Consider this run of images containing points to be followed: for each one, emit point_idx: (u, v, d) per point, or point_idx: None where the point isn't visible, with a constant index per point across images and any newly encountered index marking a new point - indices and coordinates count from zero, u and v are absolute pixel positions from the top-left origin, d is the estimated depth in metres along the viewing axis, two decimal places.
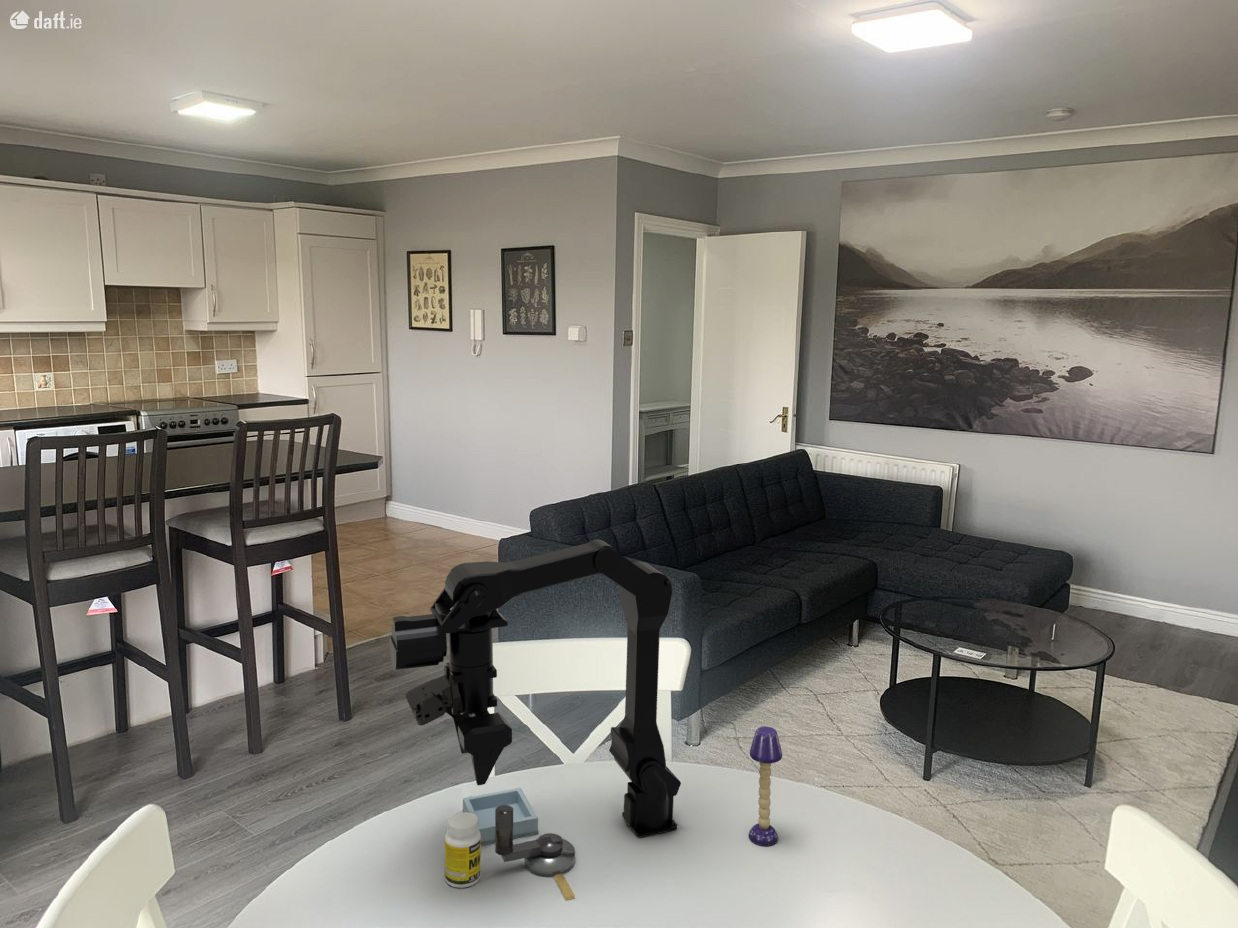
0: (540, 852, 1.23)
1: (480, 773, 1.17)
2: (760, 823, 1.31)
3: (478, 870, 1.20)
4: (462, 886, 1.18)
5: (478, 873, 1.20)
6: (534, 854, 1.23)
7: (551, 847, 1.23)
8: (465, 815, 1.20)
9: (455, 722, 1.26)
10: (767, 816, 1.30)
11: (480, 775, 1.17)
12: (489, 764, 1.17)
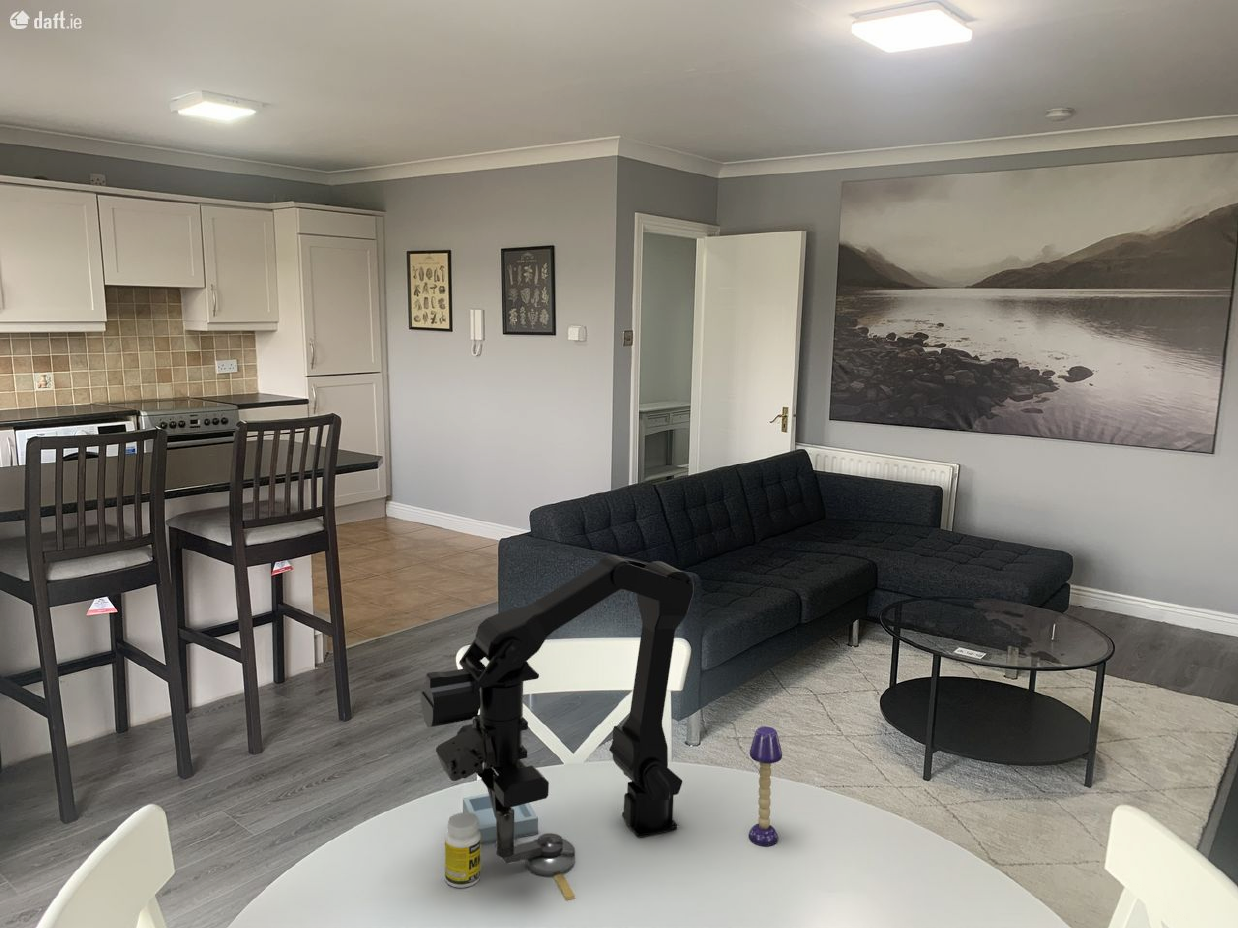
0: (541, 852, 1.23)
1: None
2: (760, 823, 1.31)
3: (478, 870, 1.20)
4: (462, 886, 1.18)
5: (478, 873, 1.20)
6: (535, 855, 1.22)
7: (552, 847, 1.23)
8: (465, 815, 1.20)
9: None
10: (767, 816, 1.30)
11: None
12: None
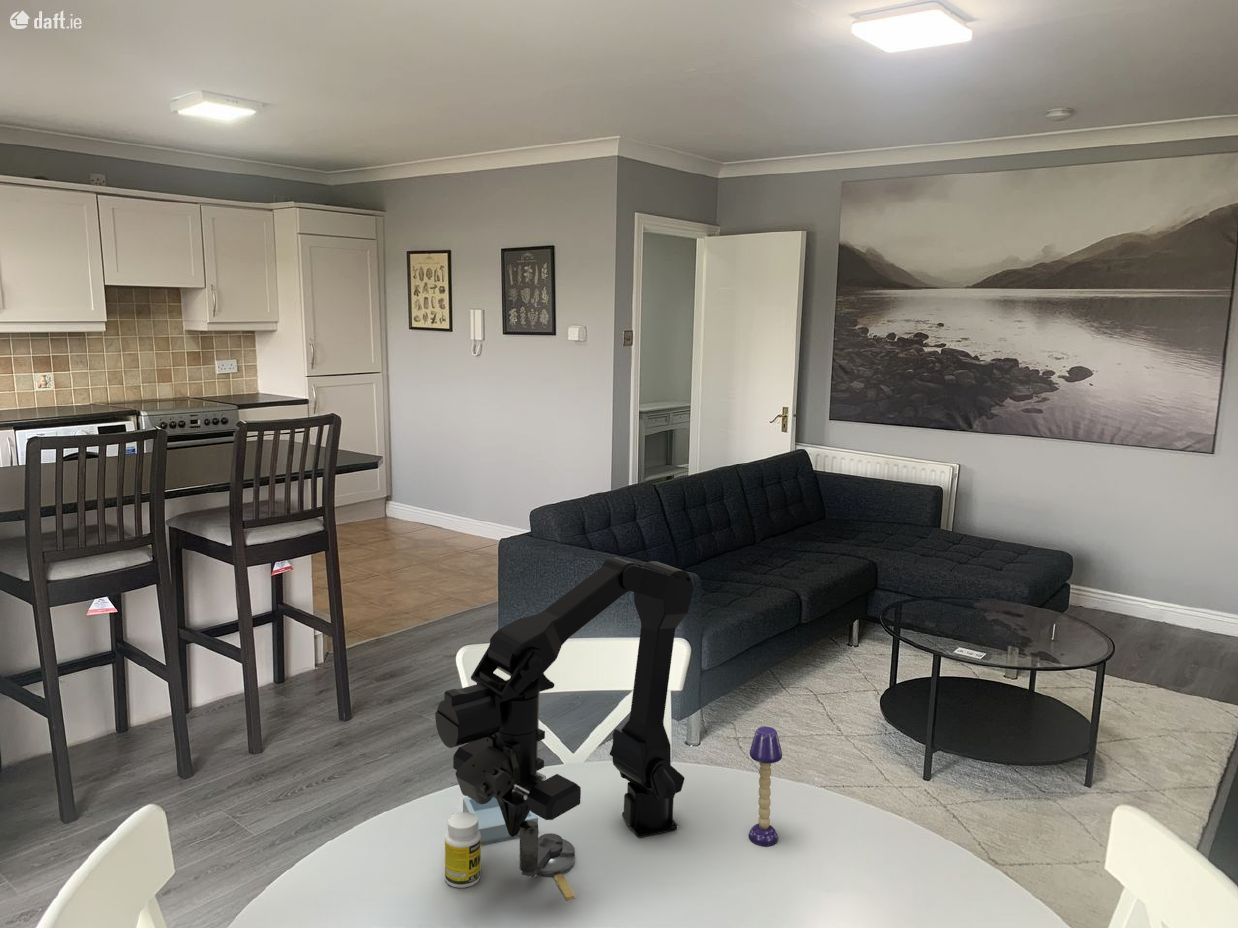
0: (550, 854, 1.23)
1: (517, 824, 1.18)
2: (760, 823, 1.31)
3: (478, 870, 1.20)
4: (462, 886, 1.18)
5: (478, 873, 1.20)
6: (547, 858, 1.22)
7: (559, 844, 1.23)
8: (465, 815, 1.20)
9: (505, 805, 1.18)
10: (767, 816, 1.30)
11: (516, 826, 1.18)
12: (525, 813, 1.18)
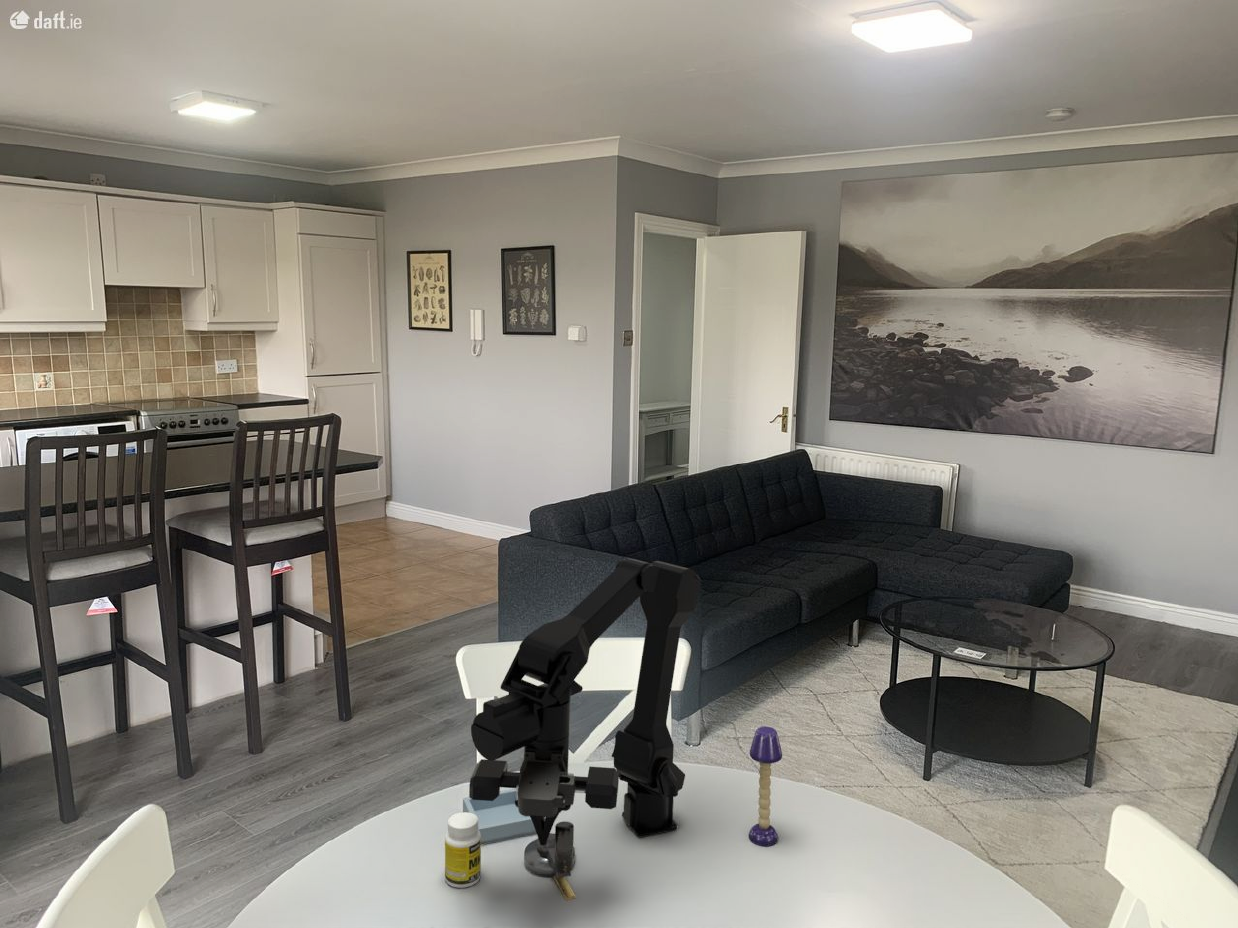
0: None
1: None
2: (760, 823, 1.31)
3: (478, 870, 1.20)
4: (462, 886, 1.18)
5: (478, 873, 1.20)
6: None
7: None
8: (465, 815, 1.20)
9: (540, 815, 1.15)
10: (767, 816, 1.30)
11: None
12: None
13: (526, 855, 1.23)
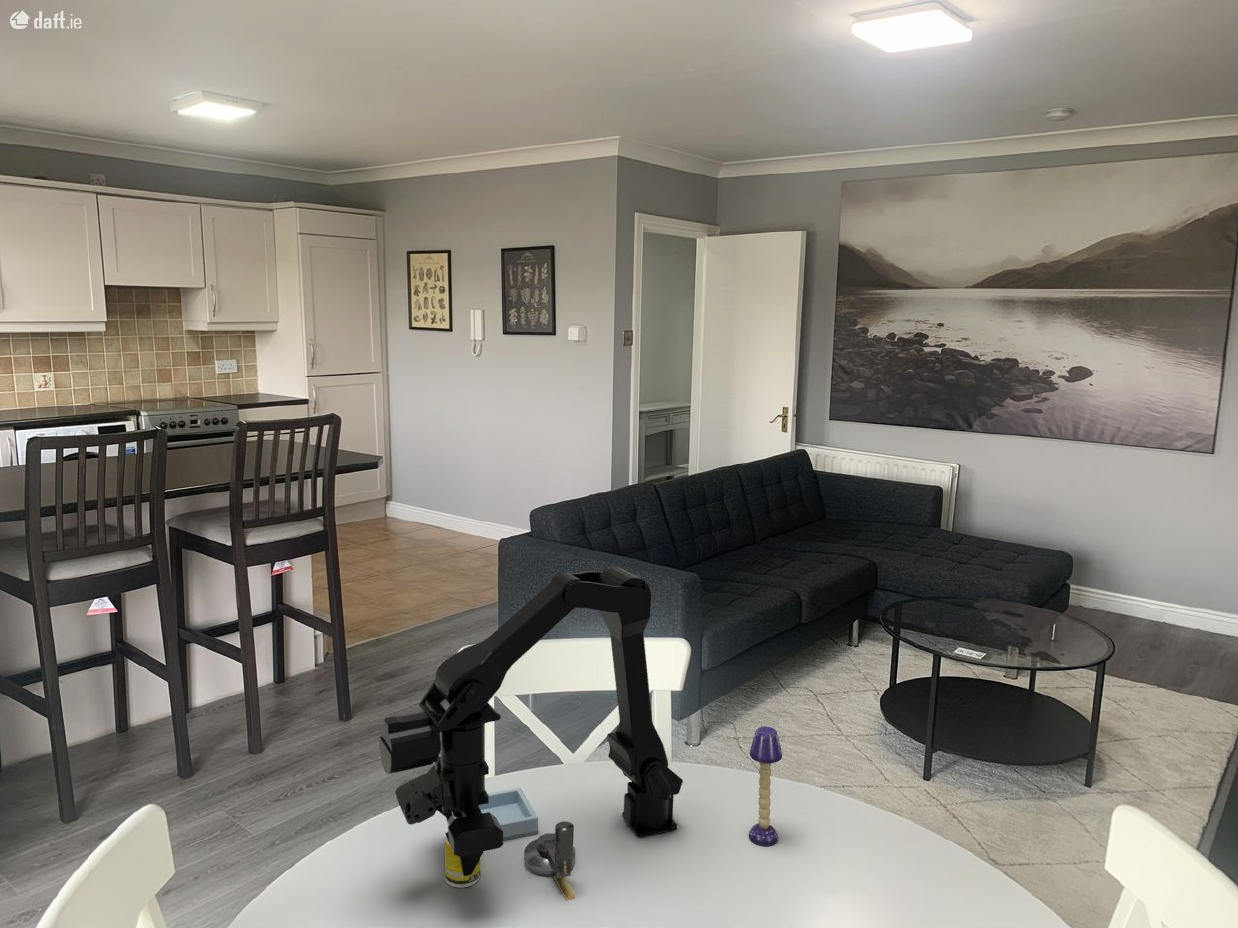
0: None
1: (466, 864, 1.17)
2: (760, 823, 1.31)
3: (478, 870, 1.20)
4: (462, 886, 1.18)
5: (478, 872, 1.20)
6: None
7: None
8: None
9: None
10: (767, 816, 1.30)
11: (466, 866, 1.17)
12: (476, 855, 1.17)
13: (526, 855, 1.23)
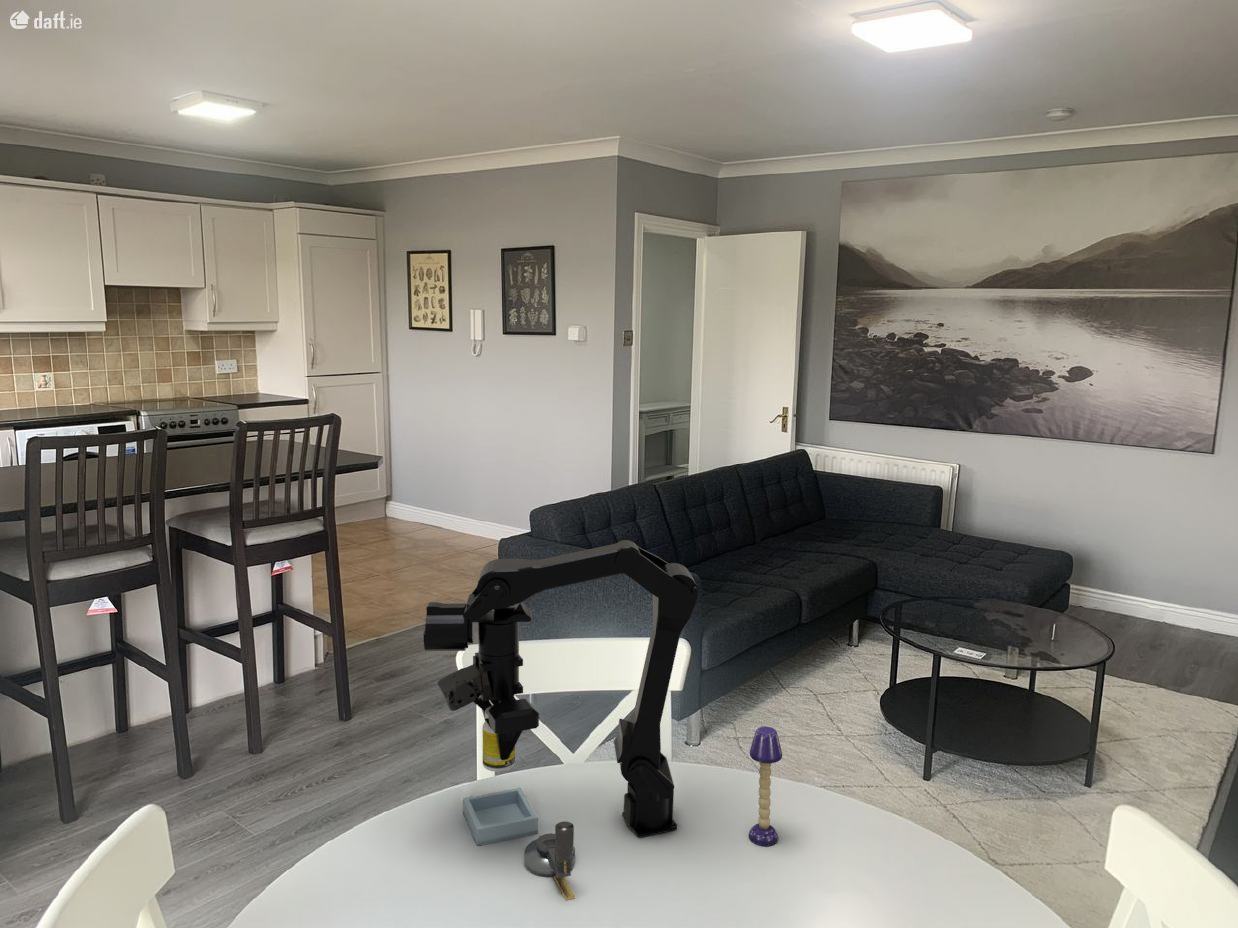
0: None
1: (504, 749, 1.28)
2: (760, 823, 1.31)
3: (513, 756, 1.30)
4: (499, 770, 1.29)
5: (513, 758, 1.30)
6: None
7: None
8: None
9: None
10: (767, 816, 1.30)
11: (504, 750, 1.28)
12: (512, 740, 1.28)
13: (526, 855, 1.23)
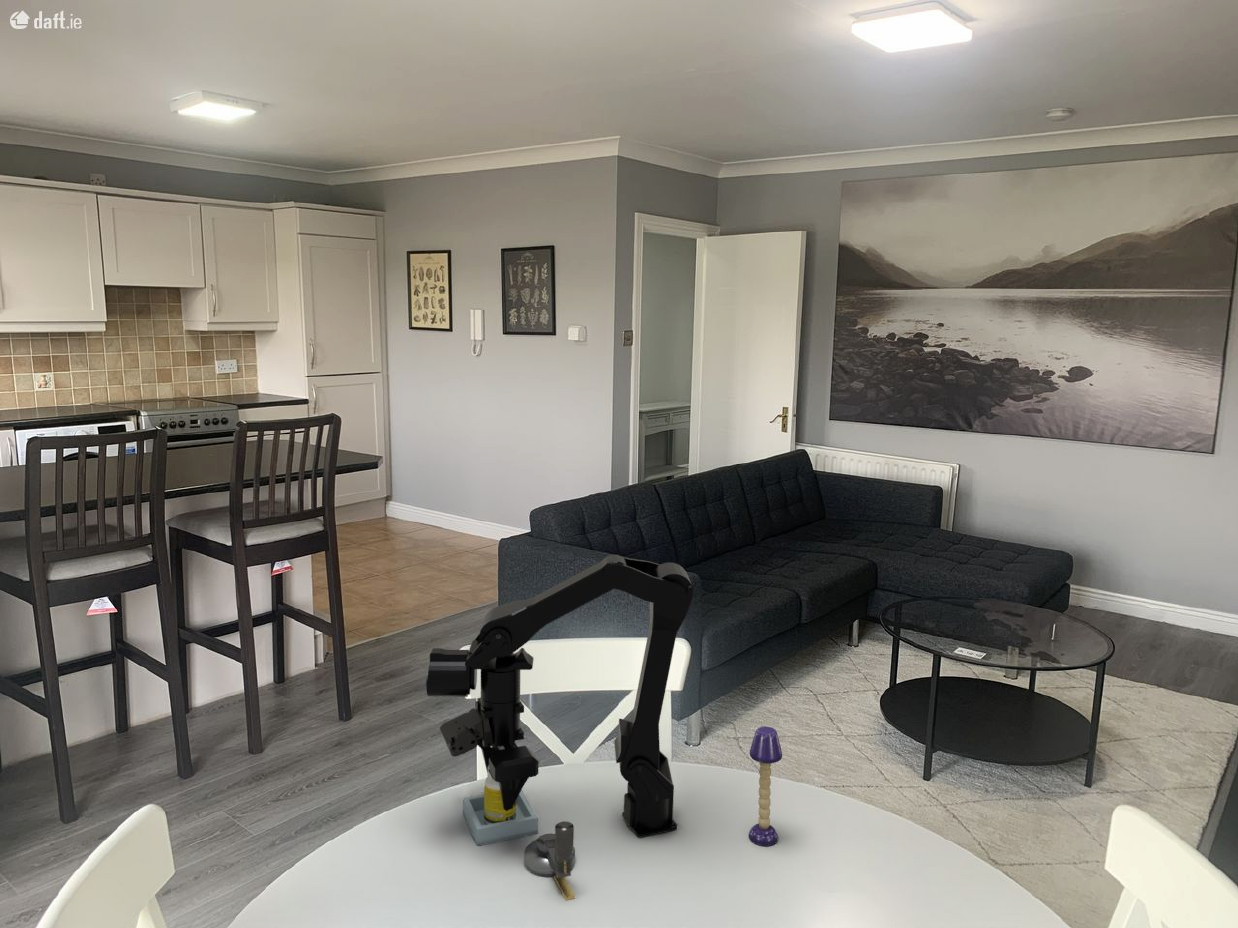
0: None
1: (507, 799, 1.28)
2: (760, 823, 1.31)
3: (514, 812, 1.33)
4: None
5: (514, 815, 1.33)
6: None
7: None
8: None
9: (484, 753, 1.36)
10: (767, 816, 1.30)
11: (507, 801, 1.28)
12: (515, 791, 1.28)
13: (526, 855, 1.23)
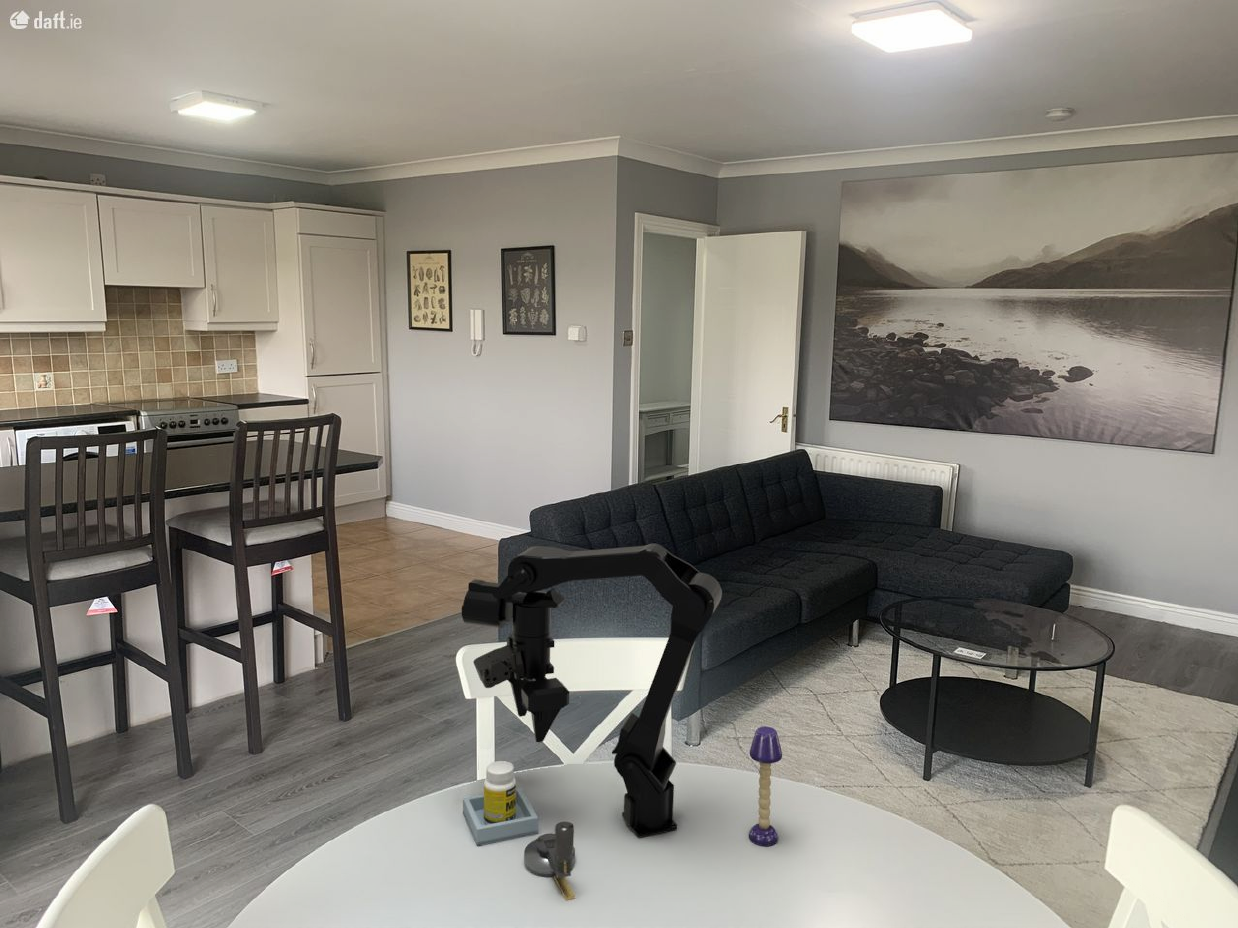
0: None
1: (539, 731, 1.33)
2: (760, 823, 1.31)
3: (514, 812, 1.33)
4: None
5: (514, 815, 1.33)
6: None
7: None
8: (502, 763, 1.33)
9: (514, 688, 1.41)
10: (767, 816, 1.30)
11: (539, 733, 1.33)
12: (547, 723, 1.33)
13: (526, 855, 1.23)
